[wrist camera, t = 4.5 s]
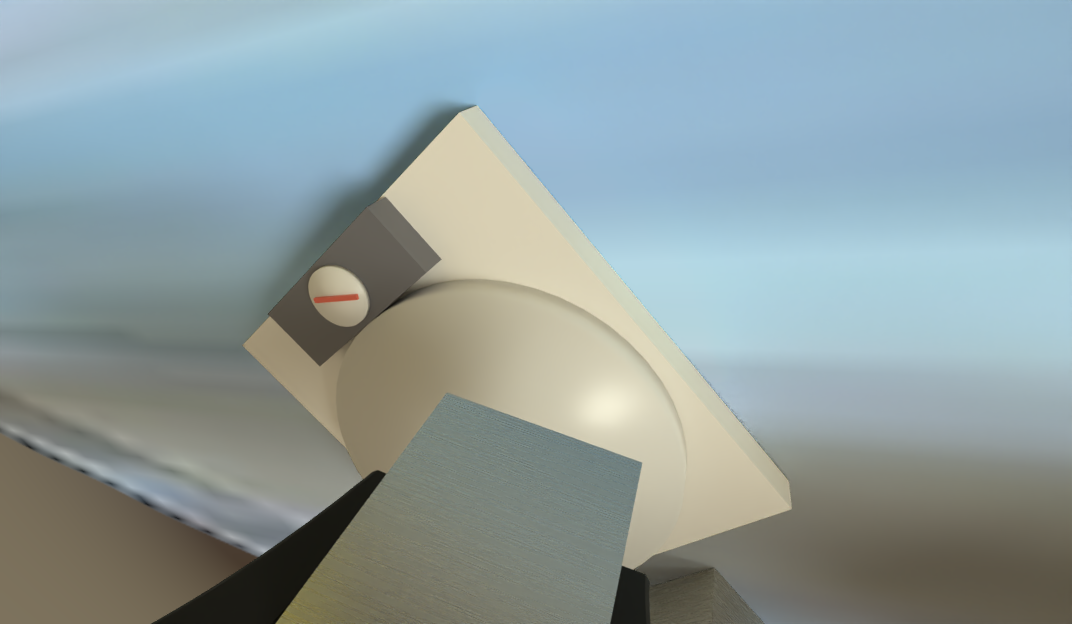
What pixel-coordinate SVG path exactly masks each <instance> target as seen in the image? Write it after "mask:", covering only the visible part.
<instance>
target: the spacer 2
mask: <svg viewBox="0 0 1072 624" xmlns="http://www.w3.org/2000/svg"><path fill="white" fill-rule="evenodd" d="M649 602H650V623H651V624H764V623H763V621H762V620H761V619H760V618H759V617H758V616H757V615H756V614H755V612H754V611H753V610H752V609H751V608H750V607H749V606H748V605H747V604H746V602H745V601H744V600H743V599H742V598H741V597H740V596H739V595H738V594H737V592H736V591H735V590H734V589H733V588H732V587H731V586H730V585H729V584H728V582H727V581H726V580H725V579H724V578H723V577H722V576H721V575H720V574H719V572H718V571H717V570H716V569H715V568H711V569H708V570H705V571H701V572H698V573H695V574H691V575H688V576H685V577H681V578H678V579H675V580H671V581H668V582H665V583H661V584H658V585H655V586H651V587H649Z"/></svg>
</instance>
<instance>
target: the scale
mask: <svg viewBox="0 0 1072 624" xmlns="http://www.w3.org/2000/svg"><path fill="white" fill-rule="evenodd" d="M268 315H269V317H268V318H267V320H266V321H265V322H264V323H263V324H262V325H261V326H260V327H259V328H258V329H257V330H256V331H255V332H254V333H253V335H252V336H251V337H250V338H249V339H248V340H247V341H246V342H245V343H244V344H243V345H242V346H243V347H244V348H245V349H246V350H247V351H248V352H250V353H251V354H252V355H253V356H254V357H255V358H256V359H257V360H258V361H259V362H260V363H261V364H262V365H263V366H264V367H265V368H266V369H267V370H268V371H269V372H270V373H271V374H272V375H273V376H274V377H275V378H276V379H277V380H278V381H279V382H280V383H281V384H282V385H283V386H284V387H285V388H286V389H287V390H288V391H289V392H290V393H291V394H292V395H293V396H294V397H295V398H296V399H297V400H298V401H299V402H300V403H301V404H302V405H303V406H304V407H305V408H306V409H307V410H308V411H309V412H310V413H311V414H312V415H313V416H314V417H315V418H316V419H317V420H318V421H319V422H320V423H321V424H322V425H323V426H324V427H325V428H326V429H327V430H328V431H329V432H330V433H331V434H332V435H333V436H334V437H335V438H336V439H337V440H338V441H339V442H340V443H341V444H342V445H343V446H344V447H345V448H346V449H347V450H348V453H349V455H350V457H351V459H352V461H353V463H354V465H355V467H356V469H357V470H358V472H359V473H360V475H361V476H362V478H363V479H364V478H365V477H367V476H368V475H369V474H370V473H371V472H373V471H376V470H379V471H382V472H384V473H388V471H389V470H390V468H391V467H392V466H393V464H394V463H395V462H396V460H397V459H398V458H399V456H400V455H401V454H402V452H403V451H404V450H405V448H406V447H407V446H408V444H409V443H410V441H411V440H412V439H413V437H414V436H415V435H416V433H417V432H418V431H419V429H420V428H421V427H422V425H423V424H424V423H425V421H426V420H427V418H428V417H429V416H430V414H431V413H432V412H433V410H434V409H435V408H436V406H437V405H438V404H439V402H440V401H441V400H442V398H443V397H444V396H445V394H446V393H450V394H453V395H456V396H458V397H461V398H464V399H467V400H470V401H472V402H475V403H478V404H481V405H483V406H486V407H489V408H492V409H495V410H497V411H500V412H503V413H506V414H509V415H511V416H514V417H517V418H520V419H522V420H525V421H528V422H531V423H534V424H536V425H539V426H542V427H545V428H547V429H550V430H553V431H556V432H559V433H561V434H564V435H567V436H570V437H573V438H575V439H578V440H581V441H584V442H586V443H589V444H592V445H595V446H598V447H600V448H603V449H606V450H609V451H611V452H614V453H617V454H620V455H623V456H625V457H628V458H631V459H634V460H637V461H639V462H642V468H641V472H640V477H639V482H638V487H637V492H636V497H635V502H634V507H633V512H632V517H631V522H630V527H629V532H628V537H627V542H626V547H625V552H624V557H623V562H622V566H625V567H627V568H630V569H632V570H633V569H635V568H636V567H638V566H640V565H641V564H643V563H644V562H645V561H647V560H648V559H649V558H650V557H651V556H653V555H656V554H659V553H662V552H665V551H668V550H671V549H674V548H677V547H680V546H683V545H686V544H689V543H692V542H695V541H698V540H701V539H704V538H707V537H710V536H713V535H716V534H719V533H722V532H725V531H728V530H731V529H734V528H737V527H740V526H743V525H746V524H749V523H752V522H755V521H758V520H761V519H764V518H767V517H770V516H773V515H776V514H779V513H782V512H785V511H788V510H791V509H792V506H791V496H790V487H789V481H788V479H787V478H786V477H785V476H784V475H783V473H782V472H781V471H780V470H779V469H778V467H777V466H776V465H775V464H774V463H773V461H772V460H771V459H770V458H769V457H768V455H767V454H766V453H765V452H764V451H763V449H762V448H761V447H760V446H759V445H758V443H757V442H756V441H755V440H754V438H753V437H752V436H751V435H750V434H749V432H748V431H747V430H746V429H745V428H744V426H743V425H742V424H741V423H740V422H739V420H738V419H737V418H736V417H735V416H734V414H733V413H732V412H731V411H730V410H729V408H728V407H727V406H726V405H725V404H724V402H723V401H722V400H721V399H720V397H719V396H718V395H717V394H716V393H715V391H714V390H713V389H712V388H711V387H710V385H709V384H708V383H707V382H706V381H705V379H704V378H703V377H702V376H701V375H700V373H699V372H698V371H697V370H696V369H695V367H694V366H693V365H692V364H691V363H690V361H689V360H688V359H687V358H686V356H685V355H684V354H683V353H682V352H681V350H680V349H679V348H678V347H677V346H676V344H675V343H674V342H673V341H672V340H671V338H670V337H669V336H668V335H667V334H666V332H665V331H664V330H663V329H662V328H661V326H660V325H659V324H658V323H657V322H656V320H655V319H654V318H653V317H652V316H651V314H650V313H649V312H648V311H647V309H646V308H645V307H644V306H643V305H642V303H641V302H640V301H639V300H638V299H637V297H636V296H635V295H634V294H633V293H632V291H631V290H630V289H629V288H628V287H627V285H626V284H625V283H624V282H623V281H622V279H621V278H620V277H619V276H618V275H617V273H616V272H615V271H614V270H613V268H612V267H611V266H610V265H609V264H608V262H607V261H606V260H605V259H604V258H603V256H602V255H601V254H600V253H599V252H598V250H597V249H596V248H595V247H594V246H593V244H592V243H591V242H590V241H589V240H588V238H587V237H586V236H585V235H584V234H583V232H582V231H581V230H580V229H579V227H578V226H577V225H576V224H575V223H574V221H573V220H572V219H571V218H570V217H569V215H568V214H567V213H566V212H565V211H564V209H563V208H562V207H561V206H560V205H559V203H558V202H557V201H556V200H555V199H554V197H553V196H552V195H551V194H550V193H549V191H548V190H547V189H546V188H545V187H544V185H543V184H542V183H541V182H540V180H539V179H538V178H537V177H536V176H535V174H534V173H533V172H532V171H531V170H530V168H529V167H528V166H527V165H526V164H525V162H524V161H523V160H522V159H521V158H520V156H519V155H518V154H517V153H516V152H515V150H514V149H513V148H512V147H511V146H510V144H509V143H508V142H507V141H506V139H505V138H504V137H503V136H502V135H501V133H500V132H499V131H498V130H497V129H496V127H495V126H494V125H493V124H492V123H491V121H490V120H489V119H488V118H487V117H486V115H485V114H484V113H483V112H482V111H481V109H480V108H479V107H478V106H475V107H472V108H469V109H467V110H464V111H462V112H459V113H458V114H457V115H456V116H455V117H454V119H453V120H452V121H451V122H450V123H449V124H448V125H447V126H446V127H445V128H444V129H443V130H442V131H441V133H440V134H439V135H438V136H437V137H436V138H435V139H434V140H433V141H432V142H431V143H430V144H429V145H428V147H427V148H426V149H425V150H424V151H423V152H422V153H421V154H420V155H419V156H418V157H417V158H416V159H415V160H414V162H413V163H412V164H411V165H410V166H409V167H408V168H407V169H406V170H405V171H404V172H403V173H402V174H401V176H400V177H399V178H398V179H397V180H396V181H395V182H394V183H393V184H392V185H391V186H390V187H389V188H388V189H387V191H386V192H385V193H384V194H383V195H382V196H381V197H380V198H379V199H378V200H377V201H376V202H375V203H373V204H371V205H370V206H368V207H366V208H365V209H364V211H363V212H362V213H361V214H360V215H359V216H358V217H357V218H356V219H355V220H354V221H353V222H352V223H351V225H350V226H349V227H348V228H347V229H346V230H345V231H344V232H343V233H342V234H341V235H340V236H339V238H338V239H337V240H336V241H335V242H334V243H333V244H332V245H331V246H330V247H329V248H328V249H327V251H326V252H325V253H324V254H323V255H322V256H321V257H320V258H319V259H318V260H317V261H316V262H315V264H314V265H313V266H312V267H311V268H310V269H309V270H308V271H307V272H306V273H305V274H304V275H303V277H302V278H301V279H300V280H299V281H298V282H297V283H296V284H295V285H294V286H293V287H292V288H291V290H290V291H289V292H288V293H287V294H286V295H285V296H284V297H283V298H282V299H281V300H280V301H279V303H278V304H277V305H276V306H275V307H274V308H273V309H272V310H271V311H270V312H269V313H268Z"/></svg>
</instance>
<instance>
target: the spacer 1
mask: <svg viewBox="0 0 1072 624" xmlns="http://www.w3.org/2000/svg"><path fill="white" fill-rule="evenodd" d="M641 468H642V462H639V461H637V460H634V459H631V458H628V457H625V456H623V455H620V454H617V453H614V452H611V451H609V450H606V449H603V448H600V447H598V446H595V445H592V444H589V443H586V442H584V441H581V440H578V439H575V438H573V437H570V436H567V435H564V434H561V433H559V432H556V431H553V430H550V429H547V428H545V427H542V426H539V425H536V424H534V423H531V422H528V421H525V420H522V419H520V418H517V417H514V416H511V415H509V414H506V413H503V412H500V411H497V410H495V409H492V408H489V407H486V406H483V405H481V404H478V403H475V402H472V401H470V400H467V399H464V398H461V397H458V396H456V395H453V394H450V393H446V394H445V396H444V397H443V398H442V400H441V401H440V402H439V404H438V405H437V406H436V408H435V409H434V410H433V412H432V413H431V414H430V416H429V417H428V418H427V420H426V421H425V423H424V424H423V425H422V427H421V428H420V429H419V431H418V432H417V433H416V435H415V436H414V437H413V439H412V440H411V441H410V443H409V444H408V446H407V447H406V448H405V450H404V451H403V452H402V454H401V455H400V456H399V458H398V459H397V460H396V462H395V463H394V464H393V466H392V467H391V468H390V470H389V471H388V473H387V474H386V475H385V477H384V478H383V479H382V481H381V482H380V483H379V485H378V486H377V487H376V489H375V490H374V491H373V493H372V494H371V495H370V497H369V498H368V500H367V501H366V502H365V504H364V505H363V506H362V508H361V509H360V510H359V512H358V513H357V514H356V516H355V517H354V518H353V520H352V521H351V523H350V524H349V525H348V527H347V528H346V529H345V531H344V532H343V533H342V535H341V536H340V537H339V539H338V540H337V541H336V543H335V544H334V545H333V547H332V548H331V550H330V551H329V552H328V554H327V555H326V556H325V558H324V559H323V560H322V562H321V563H320V564H319V566H318V567H317V568H316V570H315V571H314V572H313V574H312V575H311V577H310V578H309V579H308V581H307V582H306V583H305V585H304V586H303V587H302V589H301V590H300V591H299V593H298V594H297V595H296V597H295V598H294V599H293V601H292V602H291V604H290V605H289V606H288V608H287V609H286V610H285V612H284V613H283V614H282V616H281V617H280V618H279V620H278V621H277V622H276V624H610V622H611V617H612V612H613V607H614V602H615V597H616V592H617V587H618V582H619V577H620V572H621V567H622V562H623V557H624V552H625V547H626V542H627V537H628V532H629V527H630V522H631V517H632V512H633V507H634V502H635V497H636V492H637V487H638V482H639V477H640V472H641Z"/></svg>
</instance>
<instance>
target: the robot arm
mask: <svg viewBox="0 0 1072 624" xmlns="http://www.w3.org/2000/svg"><path fill="white" fill-rule="evenodd" d="M386 474H387V473H384V472H382V471H379V470H376V471H373V472H371V473H370V474H369V475H368V476H367V477H365V478H364V479H363V480H362V481H360V482H359V483H358V484H357V485H355V486H354V487H353V488H352V489H350V490H349V491H348V492H347V493H345V494H344V495H343V496H342V497H340V498H339V499H338V500H336V501H335V502H334V503H333V504H331V505H330V506H329V507H327V508H326V509H325V510H323V511H322V512H321V513H319V514H318V515H317V516H315V517H314V518H313V519H312V520H310V521H309V522H307V523H306V524H305V525H303V526H302V527H301V528H299V529H298V530H296V531H295V532H294V533H292V534H291V535H289V536H288V537H287V538H285V539H284V540H282V541H281V542H280V543H278V544H277V545H275V546H274V547H273V548H271V549H270V550H268V551H267V552H265V553H264V554H263V555H261V556H260V557H258V558H257V559H255V560H254V561H252V562H250V563H249V564H247V565H246V566H245V567H243V568H241V569H240V570H238V571H237V572H235V573H234V574H232V575H231V576H229V577H228V578H226V579H225V580H223V581H221V582H220V583H219V584H217V585H216V586H214V587H212V588H211V589H209V590H208V591H206V592H204V593H202V594H201V595H199V596H198V597H196V598H195V599H193V600H191V601H190V602H188V603H186V604H184V605H183V606H181V607H179V608H178V609H176V610H174V611H172V612H171V613H169V614H167V615H166V616H164V617H162V618H161V619H159V620H157V621H155V622H153V623H152V624H276V622H277V621H278V620H279V618H280V617H281V616H282V614H283V613H284V612H285V610H286V609H287V608H288V606H289V605H290V604H291V602H292V601H293V599H294V598H295V597H296V595H297V594H298V593H299V591H300V590H301V589H302V587H303V586H304V585H305V583H306V582H307V581H308V579H309V578H310V577H311V575H312V574H313V572H314V571H315V570H316V568H317V567H318V566H319V564H320V563H321V562H322V560H323V559H324V558H325V556H326V555H327V554H328V552H329V551H330V550H331V548H332V547H333V545H334V544H335V543H336V541H337V540H338V539H339V537H340V536H341V535H342V533H343V532H344V531H345V529H346V528H347V527H348V525H349V524H350V523H351V521H352V520H353V518H354V517H355V516H356V514H357V513H358V512H359V510H360V509H361V508H362V506H363V505H364V504H365V502H366V501H367V500H368V498H369V497H370V495H371V494H372V493H373V491H374V490H375V489H376V487H377V486H378V485H379V483H380V482H381V481H382V479H383V478H384V477H385V475H386ZM610 624H651V623H650V602H649V580H648V578H647V576H646V575H645V574H643V573H640V572H637V571H635V570H632V569H630V568H627V567H625V566H622V567H621V572H620V577H619V582H618V587H617V592H616V597H615V602H614V607H613V612H612V617H611V622H610Z"/></svg>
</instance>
